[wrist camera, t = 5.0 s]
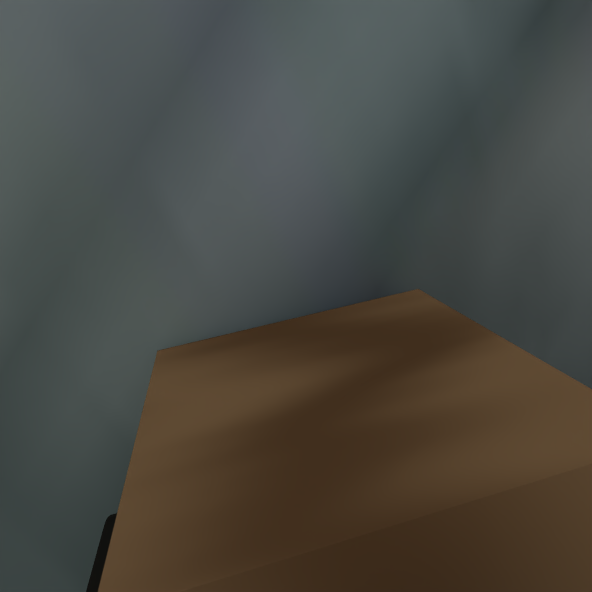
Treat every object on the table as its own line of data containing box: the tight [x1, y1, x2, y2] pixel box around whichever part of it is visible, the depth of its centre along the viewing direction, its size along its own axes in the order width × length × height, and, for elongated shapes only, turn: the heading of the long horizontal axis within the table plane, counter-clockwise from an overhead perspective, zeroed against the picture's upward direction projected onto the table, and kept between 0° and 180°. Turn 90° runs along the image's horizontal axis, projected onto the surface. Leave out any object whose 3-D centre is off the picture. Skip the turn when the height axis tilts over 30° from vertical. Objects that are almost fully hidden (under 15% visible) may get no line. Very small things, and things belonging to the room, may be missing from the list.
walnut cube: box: [98, 289, 592, 592], centre depth 8 cm, size 6×6×6 cm
